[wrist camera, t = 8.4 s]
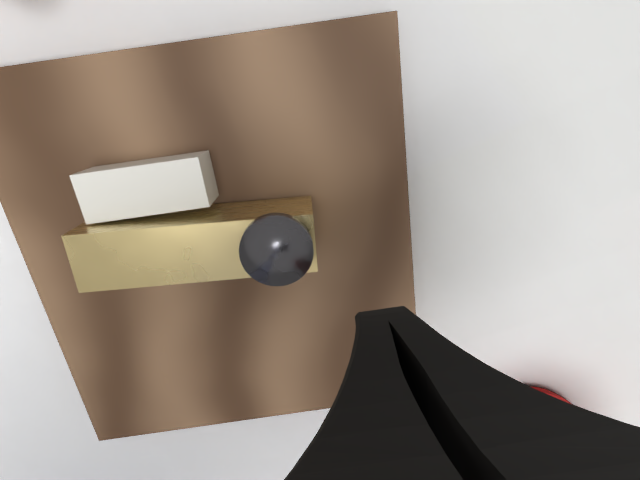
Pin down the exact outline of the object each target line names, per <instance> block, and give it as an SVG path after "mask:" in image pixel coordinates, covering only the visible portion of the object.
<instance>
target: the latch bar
mask: <svg viewBox="0 0 640 480" xmlns="http://www.w3.org/2000/svg"><path fill="white" fill-rule="evenodd" d="M61 237H62V240H63V243H64V247H65V250H66V253H67V256H68V260H69V263H70V266H71V269H72V273H73V276H74V279H75V282H76V286H77V289H78V292H79V293H84V292H95V291H106V290H118V289H129V288H140V287H152V286H163V285H174V284H185V283H197V282H208V281H219V280H231V279H242V278H253V279H254V280H256V281H258V282H260V283H262V284H265V285H269V286H285V285H289V284H292V283H294V282H296V281H298V280H299V279H300V278H302V277H303V276H304V275H305V274H306V273H310V272H318V267H317V255H316V243H315V231H314V219H313V209H312V201H311V196H302V197H290V198H278V199H267V200H255V201H243V202H231V203H220V204H212V205H211V206H210V207H206V208H199V209H192V210H185V211H178V212H171V213H164V214H157V215H150V216H143V217H136V218H129V219H122V220H115V221H108V222H101V223H94V224H87V225H86V223H85V222H84V223H82V224H80V225H79V226H77V227H75V228H74V229H72V230H70V231H69V232H67V233H65V234H63V235H62V236H61Z"/></svg>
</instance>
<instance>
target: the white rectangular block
mask: <svg viewBox="0 0 640 480" xmlns="http://www.w3.org/2000/svg"><path fill="white" fill-rule="evenodd" d="M69 176H70V179H71V182H72V185H73V188H74V191H75V194H76V197H77V199H78V202H79V205H80V208H81V211H82V214H83V217H84V220H85V223H86V225H87V224H94V223H101V222H108V221H115V220H122V219H129V218H136V217H143V216H150V215H157V214H164V213H171V212H178V211H185V210H192V209H199V208H206V207H210V206H211V205H212V203H213V202H214V201H215V200H216V198H217V197H218V196H219V194H218V189H217V185H216V180H215V176H214V171H213V167H212V162H211V158H210V153H209V150H207V151H200V152H193V153H186V154H179V155H172V156H165V157H158V158H151V159H144V160H137V161H130V162H123V163H116V164H109V165H102V166H95V167H91V168H89V169H86V170H83V171H80V172H77V173H75V174H72V175H69Z"/></svg>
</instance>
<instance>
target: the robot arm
mask: <svg viewBox="0 0 640 480" xmlns="http://www.w3.org/2000/svg"><path fill="white" fill-rule="evenodd" d="M355 323H356V332H355V339H354V344H353V348H352V353H351V357H350V360H349V364H348V367H347V370H346V373H345V376H344V379H343V381H342V384H341V386H340V389H339V391H338V394H337V396H336V398H335V400H334V402H333V405H332V407H331V409H330V411H329V412H328V414H327V416H326V418H325V420H324V422H323V423H322V425H321V427H320V429H319V431H318V432H317V434H316V436H315V437H314V439H313V440H312V442H311V443H310V445H309V446H308V448H307V449H306V450H305V452H304V453H303V455H302V456H301V458H300V459H299V460H298V462H297V463H296V465H295V466H294V468H293V469H292V470H291V472H290V473H289V474H288V476H287V477H286V478H285V479H284V480H640V427H637V426H633V425H630V424H627V423H624V422H621V421H618V420H615V419H612V418H609V417H606V416H603V415H600V414H597V413H594V412H591V411H588V410H586V409H583V408H580V407H578V406H575V405H572V404H570V403H567V402H565V401H562V400H560V399H557V398H555V397H553V396H550V395H548V394H546V393H543V392H541V391H538V390H536V389H534V388H532V387H530V386H527V385H525V384H523V383H521V382H519V381H517V380H515V379H513V378H511V377H509V376H507V375H505V374H503V373H501V372H500V371H498V370H496V369H494V368H492V367H490V366H488V365H487V364H485V363H483V362H482V361H480V360H478V359H477V358H475V357H473V356H472V355H470V354H469V353H467V352H465V351H464V350H462V349H461V348H459V347H458V346H456V345H455V344H453V343H452V342H450V341H449V340H448V339H446V338H445V337H443V336H442V335H441V334H439V333H438V332H437V331H435V330H434V329H433V328H431V327H430V326H429V325H428V324H426V323H425V322H424V321H423V320H421V319H420V318H419V317H418V316H416V315H415V314H414V313H413V312H411V311H410V310H409V309H407V308H406V307H405V306H398V307H391V308H384V309H377V310H370V311H363V312H358V313H357V314H356V316H355Z"/></svg>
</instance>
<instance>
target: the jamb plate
mask: <svg viewBox="0 0 640 480" xmlns="http://www.w3.org/2000/svg"><path fill="white" fill-rule="evenodd" d="M207 150H209V153H210V158H211V162H212V167H213V171H214V176H215V180H216V185H217V189H218V194H219V196H218V197H217V198H216V200H215V201H214V202H213V203H212V204H220V203H231V202H243V201H255V200H267V199H278V198H290V197H302V196H311V201H312V209H313V219H314V231H315V243H316V255H317V267H318V272H310V273H306V274H305V275H304V276H303V277H302V278H300V279H299V280H298V281H296V282H294V283H292V284H289V285H285V286H269V285H265V284H262V283H260V282H258V281H256V280H254V279H253V278H242V279H231V280H219V281H208V282H197V283H185V284H174V285H163V286H152V287H140V288H129V289H118V290H106V291H95V292H84V293H79V292H78V289H77V286H76V282H75V279H74V276H73V273H72V269H71V266H70V263H69V260H68V256H67V253H66V250H65V247H64V243H63V240H62V237H61V236H62V235H63V234H65V233H67V232H69V231H70V230H72V229H74V228H75V227H77V226H79V225H80V224H82V223H84V222H85V220H84V217H83V214H82V211H81V208H80V205H79V202H78V199H77V197H76V194H75V191H74V188H73V185H72V182H71V179H70V176H69V175H72V174H75V173H77V172H80V171H83V170H86V169H89V168H91V167H95V166H102V165H109V164H116V163H123V162H130V161H137V160H144V159H151V158H158V157H165V156H172V155H179V154H186V153H193V152H200V151H207ZM0 202H1V204H2V207H3V209H4V212H5V214H6V216H7V219H8V221H9V224H10V226H11V229H12V231H13V233H14V236H15V238H16V241H17V243H18V245H19V248H20V250H21V253H22V255H23V258H24V260H25V262H26V265H27V267H28V270H29V272H30V275H31V277H32V279H33V282H34V284H35V287H36V289H37V291H38V294H39V296H40V299H41V301H42V304H43V306H44V308H45V311H46V313H47V316H48V318H49V320H50V323H51V325H52V328H53V330H54V333H55V335H56V337H57V340H58V342H59V345H60V347H61V349H62V352H63V354H64V357H65V359H66V362H67V364H68V366H69V369H70V371H71V374H72V376H73V378H74V381H75V383H76V386H77V388H78V391H79V393H80V395H81V398H82V400H83V403H84V405H85V408H86V410H87V412H88V415H89V417H90V420H91V422H92V424H93V427H94V429H95V432H96V434H97V437H98V439H99V441H101V440H108V439H115V438H122V437H129V436H136V435H143V434H150V433H157V432H164V431H171V430H178V429H185V428H192V427H199V426H206V425H213V424H220V423H227V422H234V421H241V420H248V419H255V418H262V417H269V416H276V415H283V414H290V413H297V412H304V411H311V410H319V409H326V408H331V407H332V405H333V402H334V400H335V398H336V396H337V394H338V391H339V389H340V386H341V384H342V381H343V379H344V376H345V373H346V370H347V367H348V364H349V360H350V357H351V353H352V348H353V344H354V339H355V332H356V323H355V316H356V314H357V313H358V312H363V311H370V310H377V309H384V308H391V307H398V306H405V307H406V308H407V309H409V310H410V311H411V312H413V313H414V314H415V315H416V312H415V296H414V279H413V263H412V247H411V230H410V214H409V197H408V181H407V165H406V148H405V132H404V115H403V99H402V83H401V66H400V50H399V33H398V17H397V11H392V12H385V13H378V14H371V15H364V16H357V17H350V18H343V19H336V20H329V21H322V22H314V23H307V24H300V25H293V26H286V27H279V28H272V29H265V30H258V31H251V32H244V33H237V34H230V35H223V36H216V37H209V38H202V39H195V40H188V41H181V42H174V43H167V44H160V45H153V46H146V47H139V48H132V49H125V50H118V51H111V52H104V53H97V54H90V55H83V56H76V57H69V58H62V59H55V60H47V61H40V62H33V63H26V64H19V65H12V66H5V67H0Z"/></svg>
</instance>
